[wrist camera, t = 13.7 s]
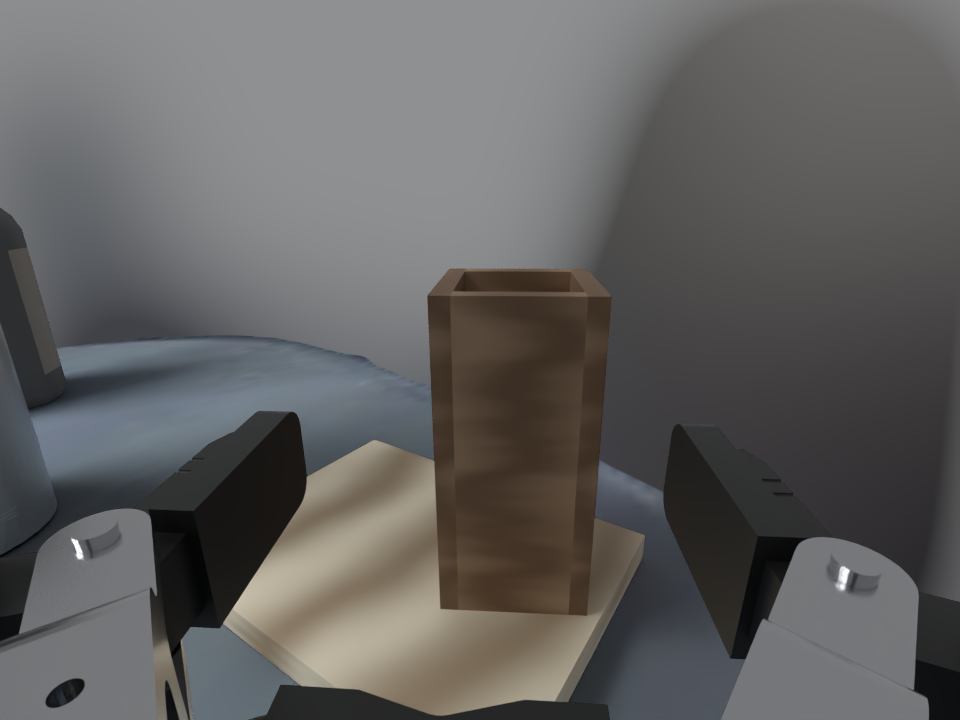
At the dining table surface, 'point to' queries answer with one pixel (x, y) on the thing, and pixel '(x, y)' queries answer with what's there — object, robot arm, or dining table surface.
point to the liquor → (26, 320)
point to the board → (410, 599)
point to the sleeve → (517, 435)
